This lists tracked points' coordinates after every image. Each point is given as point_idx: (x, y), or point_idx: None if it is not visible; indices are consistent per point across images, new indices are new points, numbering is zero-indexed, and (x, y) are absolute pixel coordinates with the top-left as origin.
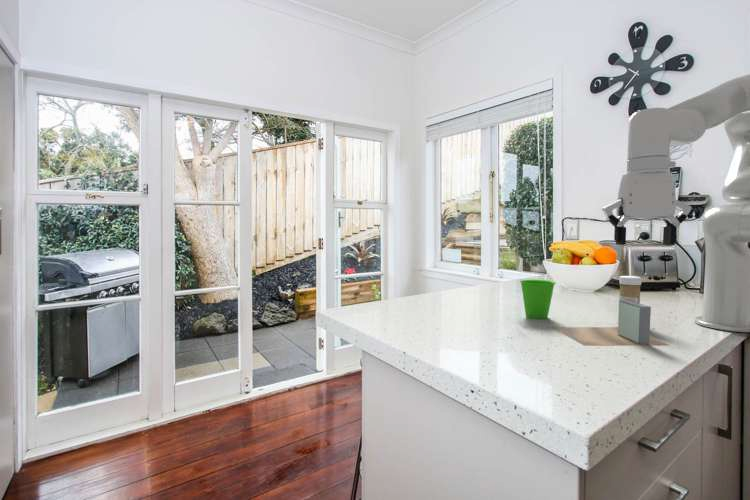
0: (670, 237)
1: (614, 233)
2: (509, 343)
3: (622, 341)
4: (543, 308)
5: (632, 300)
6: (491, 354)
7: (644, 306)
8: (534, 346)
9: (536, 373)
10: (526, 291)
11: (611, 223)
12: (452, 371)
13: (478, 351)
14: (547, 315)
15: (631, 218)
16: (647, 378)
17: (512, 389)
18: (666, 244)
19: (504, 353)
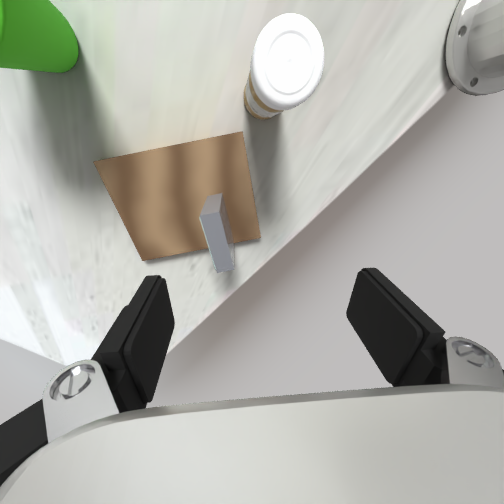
0: (361, 335)
1: (108, 332)
2: (37, 244)
3: (201, 233)
4: (42, 68)
5: (269, 113)
6: (28, 291)
7: (224, 269)
8: (77, 251)
9: (91, 328)
10: None
11: (36, 407)
12: (8, 339)
13: (7, 284)
14: (69, 53)
15: (212, 411)
16: (191, 318)
17: (75, 357)
18: (356, 285)
19: (43, 285)
